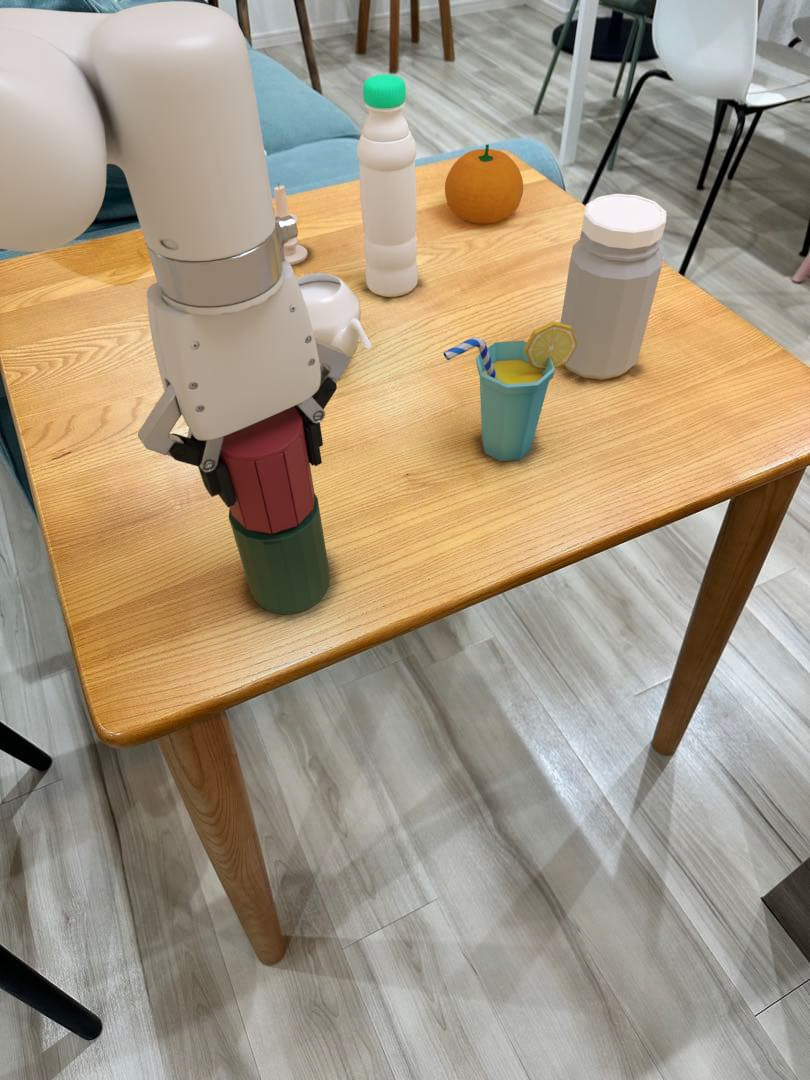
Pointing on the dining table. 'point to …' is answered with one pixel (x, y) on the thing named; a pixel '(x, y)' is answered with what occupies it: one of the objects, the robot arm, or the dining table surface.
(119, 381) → the dining table surface
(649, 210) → the jar
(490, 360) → the cup
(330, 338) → the teapot
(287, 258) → the candle
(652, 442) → the dining table surface
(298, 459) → the grooved red cylinder
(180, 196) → the robot arm
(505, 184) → the fruit
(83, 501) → the dining table surface
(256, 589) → the green bottle
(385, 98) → the water bottle
